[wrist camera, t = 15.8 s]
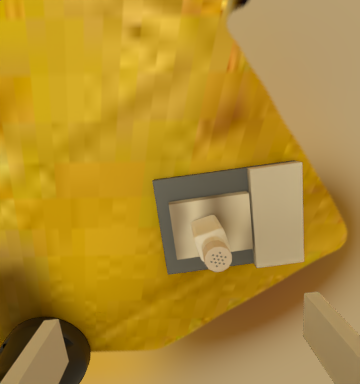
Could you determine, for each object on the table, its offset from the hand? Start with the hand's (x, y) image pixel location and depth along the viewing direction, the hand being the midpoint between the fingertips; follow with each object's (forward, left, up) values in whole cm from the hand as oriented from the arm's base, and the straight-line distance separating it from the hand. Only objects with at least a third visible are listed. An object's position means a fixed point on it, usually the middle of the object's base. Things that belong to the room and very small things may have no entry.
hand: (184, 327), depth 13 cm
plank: (+5, -4, -25) cm, 26 cm away
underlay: (+8, -4, -26) cm, 27 cm away
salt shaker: (+4, -4, -23) cm, 24 cm away
